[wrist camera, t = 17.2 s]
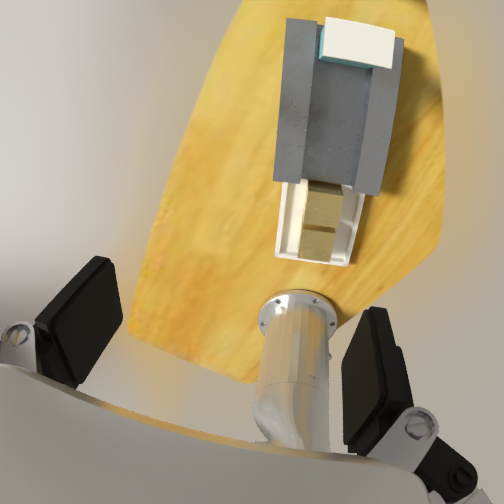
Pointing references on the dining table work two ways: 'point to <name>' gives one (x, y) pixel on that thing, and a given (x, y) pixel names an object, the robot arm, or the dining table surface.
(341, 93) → the slot board
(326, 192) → the gold cube
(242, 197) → the dining table surface
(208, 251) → the dining table surface
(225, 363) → the dining table surface
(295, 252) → the tray
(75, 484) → the robot arm
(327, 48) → the teal rectangular block
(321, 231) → the chip
